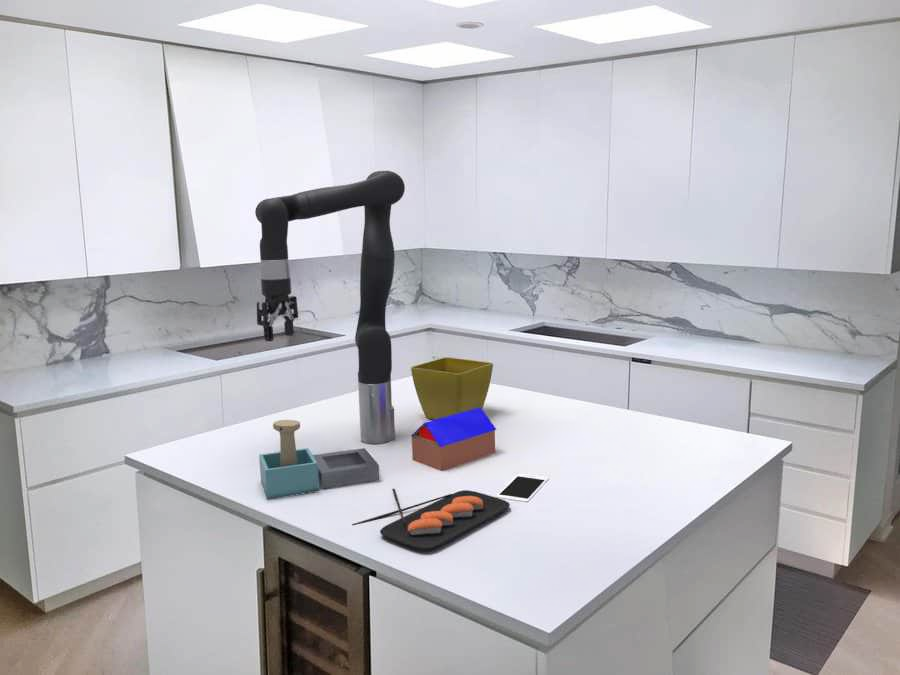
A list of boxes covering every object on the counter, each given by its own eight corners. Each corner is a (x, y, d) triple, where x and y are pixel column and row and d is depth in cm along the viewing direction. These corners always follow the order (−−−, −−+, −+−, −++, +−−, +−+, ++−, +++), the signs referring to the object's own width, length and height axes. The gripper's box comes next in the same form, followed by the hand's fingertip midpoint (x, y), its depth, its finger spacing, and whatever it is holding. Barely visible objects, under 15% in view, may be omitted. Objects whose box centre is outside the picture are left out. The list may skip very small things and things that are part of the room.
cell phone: (549, 479, 183) (549, 477, 183) (527, 504, 169) (527, 501, 169) (519, 475, 187) (519, 473, 187) (495, 499, 172) (495, 496, 172)
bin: (309, 474, 189) (308, 448, 188) (319, 491, 178) (317, 463, 177) (260, 481, 185) (259, 454, 184) (267, 499, 174) (265, 470, 173)
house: (410, 461, 198) (409, 418, 196) (466, 443, 212) (465, 403, 209) (441, 472, 190) (439, 427, 187) (496, 453, 203) (496, 411, 201)
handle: (295, 488, 178) (292, 427, 176) (273, 484, 181) (269, 424, 178) (307, 481, 183) (303, 421, 180) (284, 477, 185) (280, 418, 182)
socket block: (365, 462, 197) (364, 448, 196) (379, 480, 184) (378, 465, 183) (311, 470, 192) (310, 455, 192) (322, 489, 179) (321, 473, 179)
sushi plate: (427, 560, 144) (426, 541, 143) (323, 520, 163) (322, 503, 162) (515, 511, 166) (515, 494, 165) (415, 481, 185) (414, 466, 184)
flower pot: (446, 405, 250) (445, 356, 247) (495, 414, 239) (494, 362, 236) (410, 419, 235) (409, 367, 232) (460, 429, 224) (459, 374, 221)
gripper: (270, 279, 188) (274, 343, 191) (303, 274, 201) (307, 334, 204) (246, 279, 191) (250, 342, 194) (280, 273, 204) (284, 333, 207)
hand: (279, 338), depth 199 cm, fingers open, 8 cm apart
